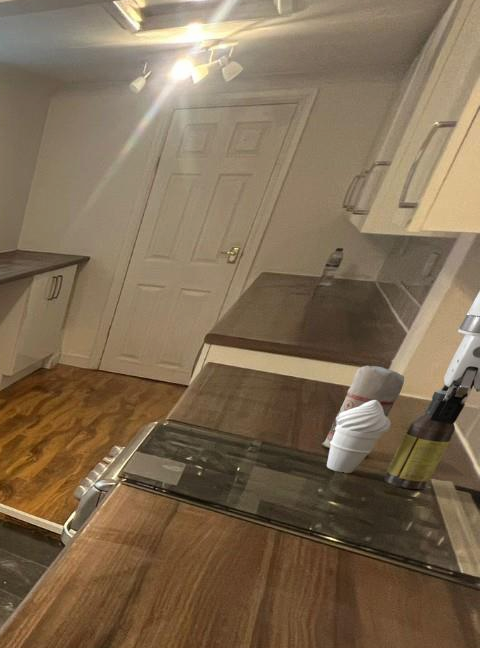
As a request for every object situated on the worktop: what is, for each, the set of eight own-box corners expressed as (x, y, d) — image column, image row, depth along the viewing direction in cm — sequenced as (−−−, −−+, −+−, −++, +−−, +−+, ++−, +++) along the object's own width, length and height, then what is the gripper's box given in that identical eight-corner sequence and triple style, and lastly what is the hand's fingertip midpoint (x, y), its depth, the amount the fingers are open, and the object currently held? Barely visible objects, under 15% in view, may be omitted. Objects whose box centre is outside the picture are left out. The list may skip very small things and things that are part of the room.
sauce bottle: (431, 489, 119) (485, 397, 111) (410, 492, 118) (463, 399, 109) (393, 476, 125) (442, 387, 116) (373, 478, 124) (421, 389, 115)
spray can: (317, 440, 143) (355, 361, 134) (361, 447, 139) (403, 366, 131) (326, 452, 137) (366, 369, 128) (372, 459, 133) (417, 375, 124)
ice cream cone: (347, 479, 123) (384, 408, 116) (304, 463, 130) (337, 395, 123) (374, 475, 125) (411, 404, 118) (330, 459, 132) (363, 392, 125)
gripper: (529, 337, 99) (471, 433, 107) (517, 324, 110) (465, 412, 118) (464, 330, 104) (414, 422, 112) (459, 318, 115) (413, 403, 123)
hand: (441, 416), depth 115 cm, fingers open, 7 cm apart
